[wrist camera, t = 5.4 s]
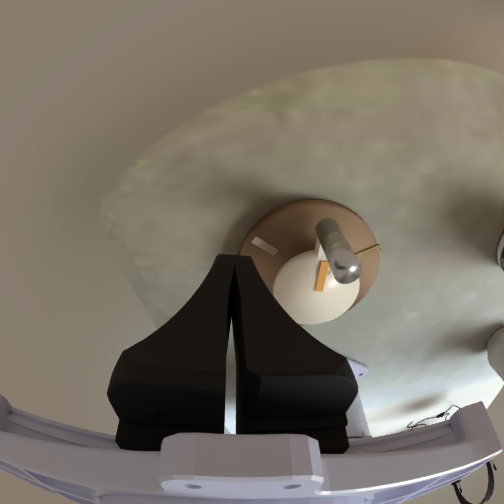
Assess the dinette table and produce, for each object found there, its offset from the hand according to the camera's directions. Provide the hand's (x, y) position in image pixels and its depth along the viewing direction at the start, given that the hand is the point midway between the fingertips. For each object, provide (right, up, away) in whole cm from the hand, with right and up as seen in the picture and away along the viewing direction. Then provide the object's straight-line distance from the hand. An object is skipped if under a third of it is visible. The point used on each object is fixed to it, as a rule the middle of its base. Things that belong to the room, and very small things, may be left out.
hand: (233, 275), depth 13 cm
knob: (+5, 0, +7) cm, 9 cm away
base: (+5, 0, +10) cm, 11 cm away
